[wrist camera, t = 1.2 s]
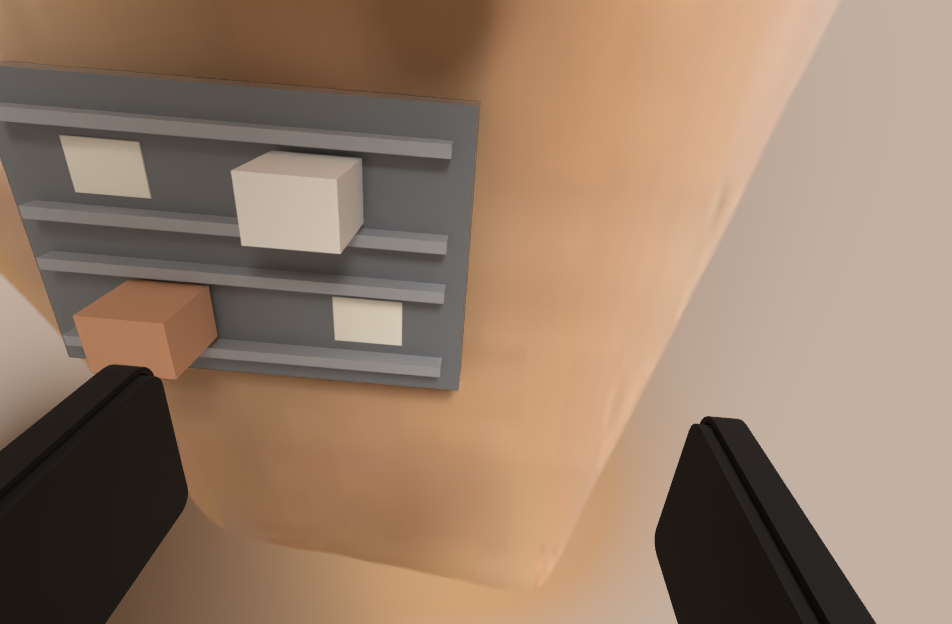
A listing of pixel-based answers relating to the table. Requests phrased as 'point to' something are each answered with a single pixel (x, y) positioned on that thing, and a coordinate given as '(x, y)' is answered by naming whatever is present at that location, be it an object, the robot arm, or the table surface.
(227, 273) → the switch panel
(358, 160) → the off-white block
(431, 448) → the table surface
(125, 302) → the orange cube
